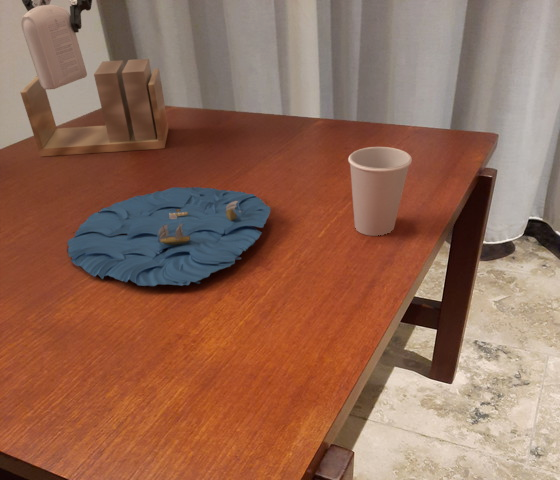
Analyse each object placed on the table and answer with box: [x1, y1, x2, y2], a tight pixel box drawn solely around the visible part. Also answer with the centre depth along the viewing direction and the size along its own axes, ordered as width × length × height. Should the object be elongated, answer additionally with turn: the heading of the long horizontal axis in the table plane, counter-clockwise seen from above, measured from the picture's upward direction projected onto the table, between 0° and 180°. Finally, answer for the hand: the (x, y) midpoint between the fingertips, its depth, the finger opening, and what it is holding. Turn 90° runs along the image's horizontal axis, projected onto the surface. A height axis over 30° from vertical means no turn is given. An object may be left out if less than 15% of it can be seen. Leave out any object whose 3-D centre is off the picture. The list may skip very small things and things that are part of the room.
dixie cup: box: [348, 146, 413, 237], centre depth 77 cm, size 8×8×10 cm
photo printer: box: [20, 4, 88, 90], centre depth 101 cm, size 10×4×12 cm, turn 158°
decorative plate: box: [67, 186, 272, 287], centre depth 78 cm, size 30×30×5 cm
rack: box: [19, 58, 169, 158], centre depth 108 cm, size 24×12×14 cm, turn 95°
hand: (58, 30), depth 101 cm, fingers closed on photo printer, 5 cm apart
